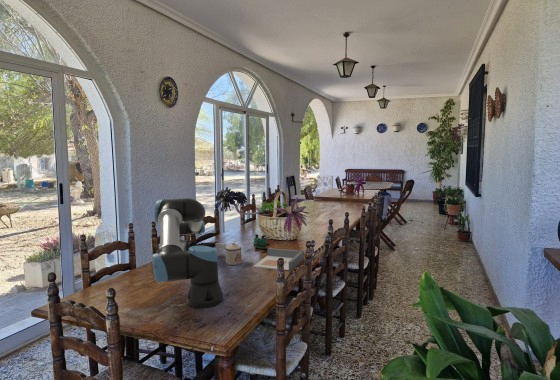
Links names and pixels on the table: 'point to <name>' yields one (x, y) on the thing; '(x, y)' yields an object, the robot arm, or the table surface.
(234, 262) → the teacup with lid
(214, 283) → the robot arm
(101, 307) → the table surface
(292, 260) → the tray
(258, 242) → the binoculars
